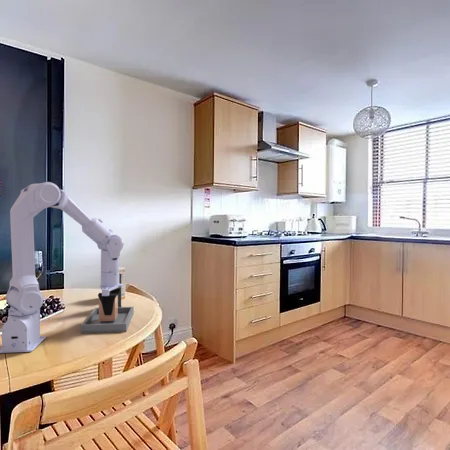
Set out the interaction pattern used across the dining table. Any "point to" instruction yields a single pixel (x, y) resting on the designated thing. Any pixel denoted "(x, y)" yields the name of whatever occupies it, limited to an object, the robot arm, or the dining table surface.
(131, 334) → the dining table surface
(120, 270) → the supplement box
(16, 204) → the robot arm
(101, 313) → the cup
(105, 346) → the dining table surface
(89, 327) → the tray
